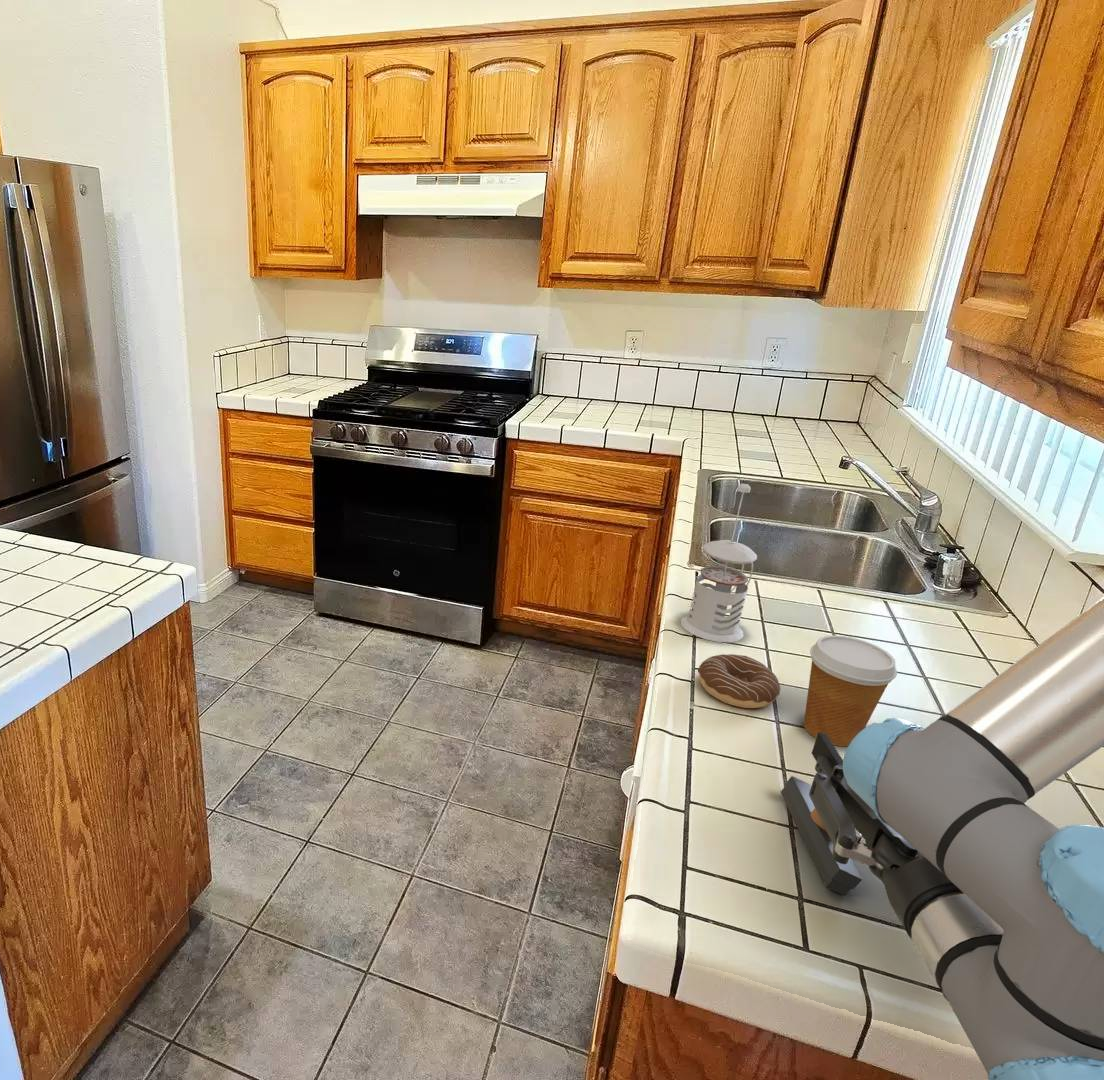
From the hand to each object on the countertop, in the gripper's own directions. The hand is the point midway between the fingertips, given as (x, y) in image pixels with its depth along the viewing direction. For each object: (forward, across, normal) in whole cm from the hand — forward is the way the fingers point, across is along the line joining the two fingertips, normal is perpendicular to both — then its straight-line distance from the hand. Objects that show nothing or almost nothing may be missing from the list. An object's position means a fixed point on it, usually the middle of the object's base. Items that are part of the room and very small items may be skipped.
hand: (842, 746), depth 81 cm
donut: (+24, -3, -9) cm, 26 cm away
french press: (+45, -1, -9) cm, 45 cm away
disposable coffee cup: (+17, +7, -9) cm, 20 cm away
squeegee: (-5, -3, -8) cm, 10 cm away
